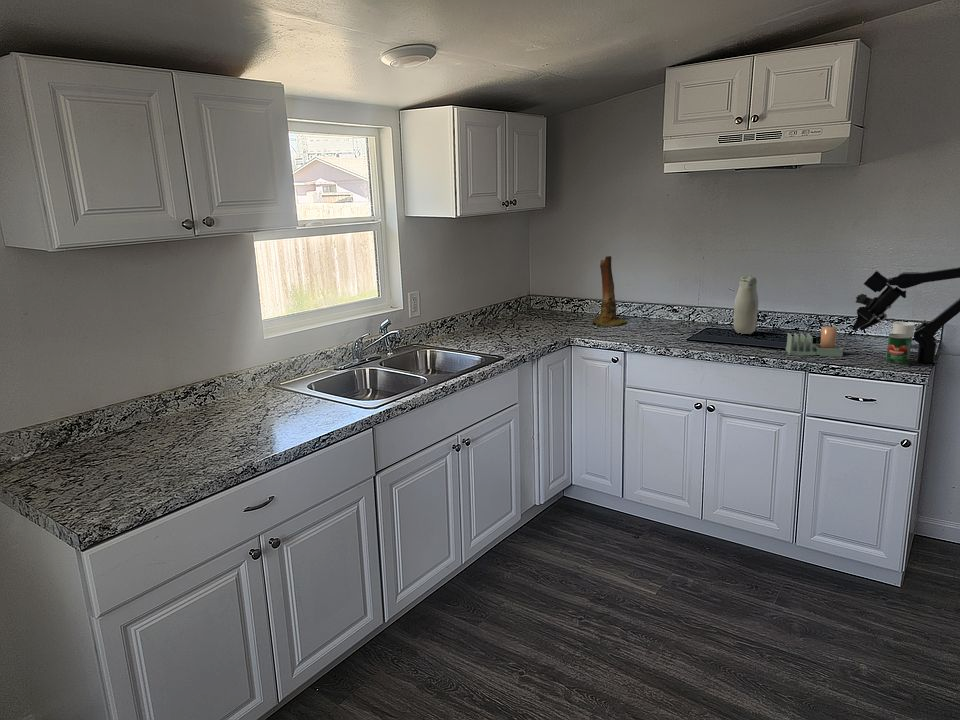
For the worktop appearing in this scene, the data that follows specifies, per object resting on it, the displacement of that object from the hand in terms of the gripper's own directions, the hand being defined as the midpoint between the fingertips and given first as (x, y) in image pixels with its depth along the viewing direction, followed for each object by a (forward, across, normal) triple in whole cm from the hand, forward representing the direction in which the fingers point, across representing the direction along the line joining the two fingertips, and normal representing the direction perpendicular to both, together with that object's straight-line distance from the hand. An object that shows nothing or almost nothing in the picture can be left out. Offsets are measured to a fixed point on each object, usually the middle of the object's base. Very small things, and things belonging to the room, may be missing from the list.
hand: (856, 329), depth 279 cm
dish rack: (+17, +5, -5) cm, 18 cm away
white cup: (0, -30, +11) cm, 32 cm away
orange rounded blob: (+14, +2, -1) cm, 15 cm away
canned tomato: (0, +2, +20) cm, 20 cm away
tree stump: (+76, +2, -93) cm, 120 cm away
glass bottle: (+37, -14, -39) cm, 55 cm away
